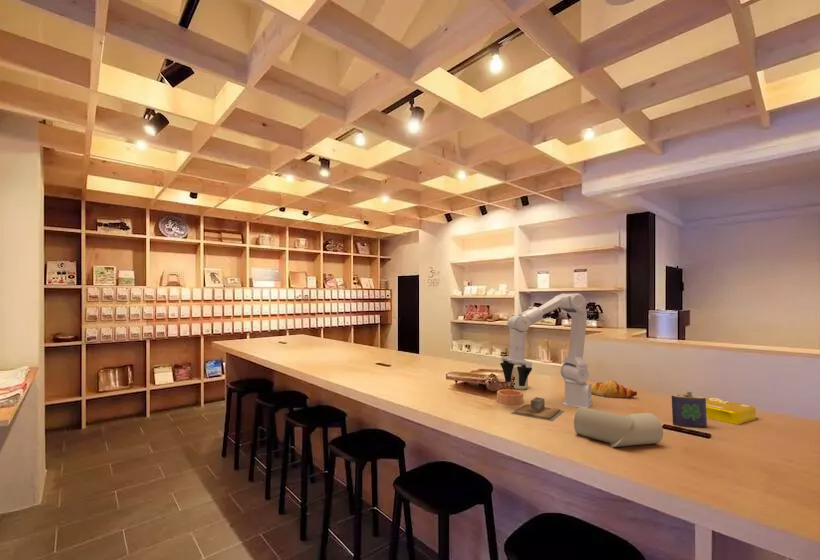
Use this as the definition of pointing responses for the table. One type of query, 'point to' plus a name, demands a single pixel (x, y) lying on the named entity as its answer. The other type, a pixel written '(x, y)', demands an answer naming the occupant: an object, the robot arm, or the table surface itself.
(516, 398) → the bowl
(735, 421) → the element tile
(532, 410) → the lid
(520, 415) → the mat
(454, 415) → the table surface
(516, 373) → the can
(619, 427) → the bent grey cylinder
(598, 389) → the croissant
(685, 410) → the flask
